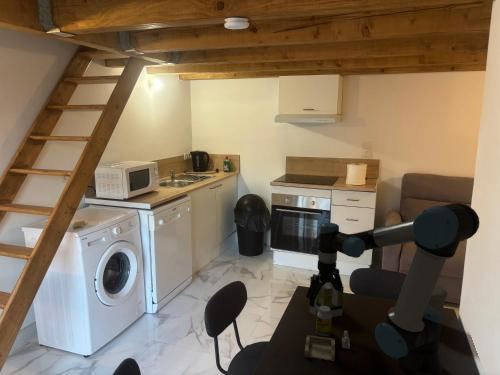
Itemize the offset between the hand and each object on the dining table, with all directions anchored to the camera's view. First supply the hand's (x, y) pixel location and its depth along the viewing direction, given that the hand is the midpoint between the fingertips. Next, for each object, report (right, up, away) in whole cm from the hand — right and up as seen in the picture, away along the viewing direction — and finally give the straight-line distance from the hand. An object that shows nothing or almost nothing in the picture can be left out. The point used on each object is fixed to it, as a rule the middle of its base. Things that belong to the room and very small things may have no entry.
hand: (323, 308), depth 157 cm
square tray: (-4, -13, -11) cm, 17 cm away
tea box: (+5, -8, +21) cm, 23 cm away
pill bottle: (0, -11, +1) cm, 11 cm away
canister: (+45, -10, +10) cm, 48 cm away
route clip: (+7, -12, -7) cm, 16 cm away
